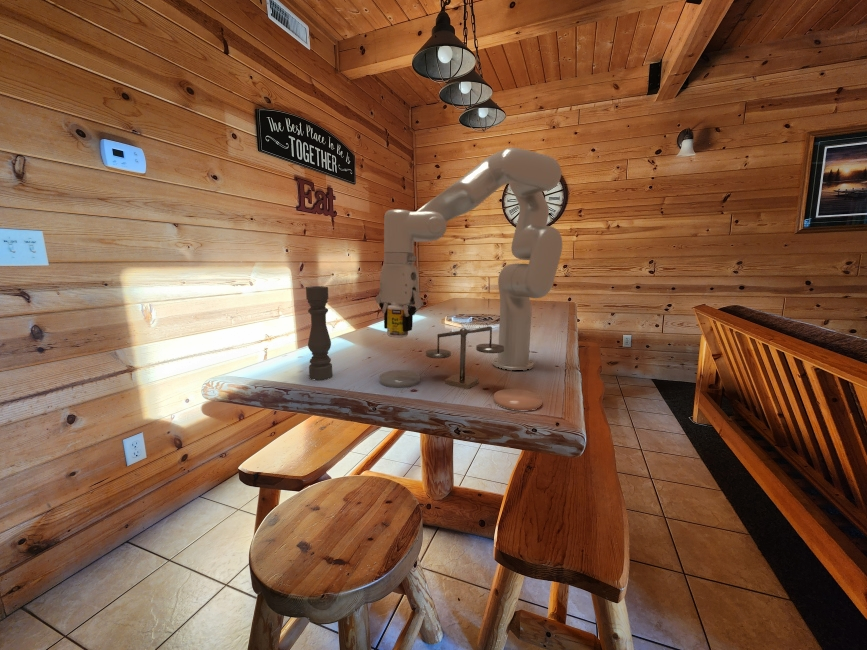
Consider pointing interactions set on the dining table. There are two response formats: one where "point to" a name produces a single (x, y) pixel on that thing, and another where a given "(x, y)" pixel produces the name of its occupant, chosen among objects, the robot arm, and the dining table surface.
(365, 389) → the dining table surface
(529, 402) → the terracotta dish
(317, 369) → the candle holder
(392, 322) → the supplement bottle
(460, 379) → the balance
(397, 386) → the slate dish
